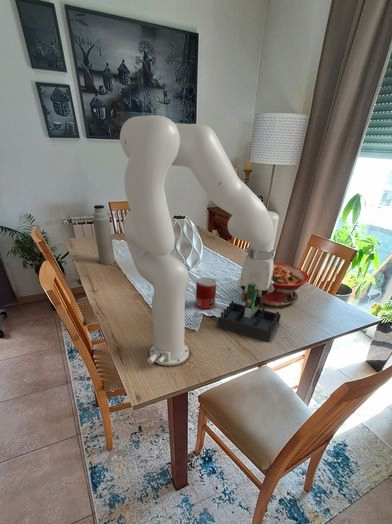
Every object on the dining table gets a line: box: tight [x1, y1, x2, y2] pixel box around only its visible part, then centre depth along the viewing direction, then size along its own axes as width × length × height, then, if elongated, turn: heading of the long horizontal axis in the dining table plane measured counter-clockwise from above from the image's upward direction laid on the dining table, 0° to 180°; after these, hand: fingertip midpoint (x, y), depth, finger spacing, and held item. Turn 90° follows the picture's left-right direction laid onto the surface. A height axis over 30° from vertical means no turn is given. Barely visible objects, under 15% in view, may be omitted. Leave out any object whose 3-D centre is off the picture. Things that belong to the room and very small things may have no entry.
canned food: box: [195, 276, 217, 311], centre depth 118 cm, size 8×8×11 cm
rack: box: [216, 299, 282, 343], centre depth 108 cm, size 20×14×6 cm
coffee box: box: [244, 284, 259, 319], centre depth 103 cm, size 8×3×13 cm, turn 151°
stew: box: [240, 262, 309, 309], centre depth 124 cm, size 28×24×16 cm
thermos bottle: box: [92, 204, 116, 265], centre depth 149 cm, size 8×8×28 cm
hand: (252, 303), depth 104 cm, fingers closed on coffee box, 3 cm apart
